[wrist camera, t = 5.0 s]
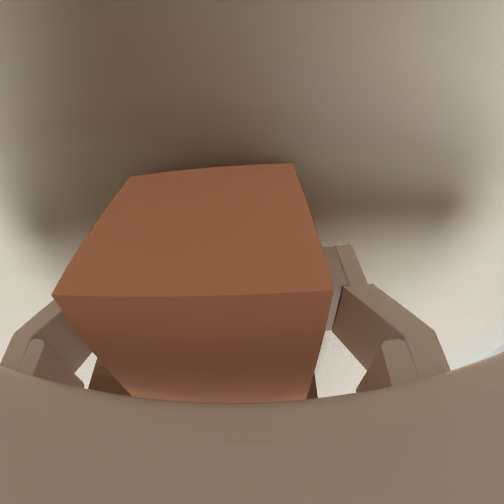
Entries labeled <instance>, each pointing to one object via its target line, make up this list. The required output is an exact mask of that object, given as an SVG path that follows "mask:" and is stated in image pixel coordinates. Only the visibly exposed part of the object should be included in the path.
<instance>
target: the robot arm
mask: <svg viewBox="0 0 504 504" xmlns="http://www.w3.org/2000/svg"><path fill="white" fill-rule="evenodd" d="M322 250H323V253H324V257H325V260H326V263H327V267H328V270H329V273H330V277H331V280H332V284H333V287H334V293H333V298H332V302H331V307H330V311H329V315H328V320H327V324H326V328H325V331H327V330H332V332H333V333H334V334H335V335H336V336H337V337H338V339H339V340H340V341H341V342H342V343H343V344H344V345H345V346H346V347H347V349H348V350H349V351H350V352H351V353H352V354H353V355H354V356H355V358H356V359H357V360H358V361H359V362H360V363H361V364H362V365H363V366H364V368H365V369H366V370H367V372H366V374H365V376H364V377H363V379H362V381H361V382H360V384H359V385H358V387H357V389H356V392H357V393H352V394H346V395H339V396H331V397H323V398H314V399H303V400H292V401H276V402H252V403H212V402H188V401H173V400H161V399H151V398H142V397H134V396H126V395H119V394H113V393H107V392H101V391H95V390H90V389H85V388H84V384H83V382H82V381H81V380H80V379H79V378H78V377H77V376H76V375H75V374H74V373H75V372H76V371H77V369H78V368H79V367H80V366H81V365H82V363H83V362H84V361H85V360H86V359H87V358H88V356H89V355H90V354H91V353H92V350H91V349H90V348H89V347H88V345H87V344H86V343H85V341H84V340H83V339H82V338H81V336H80V335H79V334H78V332H77V331H76V330H75V328H74V327H73V326H72V324H71V323H70V321H69V320H68V319H67V317H66V316H65V314H64V313H63V311H62V310H61V308H60V307H59V306H58V304H57V303H56V301H55V300H53V301H52V302H51V303H49V304H48V305H47V306H46V307H44V308H43V309H42V310H41V311H40V312H38V313H37V314H36V315H35V316H34V317H32V318H31V319H30V320H29V321H28V322H27V323H25V324H24V325H23V326H22V327H21V328H20V329H19V330H17V331H16V332H15V333H14V335H13V337H12V339H11V341H10V343H9V345H8V348H7V350H6V352H5V354H4V357H3V359H2V361H1V364H0V504H504V352H502V353H500V354H497V355H495V356H492V357H489V358H487V359H484V360H481V361H479V362H476V363H473V364H470V365H467V366H464V367H461V368H458V369H455V370H452V371H450V368H449V365H448V363H447V360H446V357H445V355H444V352H443V350H442V347H441V345H440V343H439V340H438V338H437V336H436V333H435V331H434V330H433V329H431V328H430V327H429V326H428V325H426V324H425V323H424V322H423V321H421V320H420V319H419V318H417V317H416V316H415V315H413V314H412V313H411V312H410V311H408V310H407V309H406V308H404V307H403V306H402V305H400V304H399V303H398V302H396V301H395V300H394V299H392V298H391V297H390V296H388V295H387V294H386V293H384V292H383V291H382V290H380V289H379V288H378V287H376V286H375V285H374V284H368V283H367V280H366V278H365V276H364V273H363V271H362V268H361V266H360V264H359V261H358V259H357V257H356V254H355V252H354V250H353V247H352V246H350V245H344V246H334V247H322Z"/></svg>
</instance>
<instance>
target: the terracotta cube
mask: <svg viewBox="0 0 504 504" xmlns="http://www.w3.org/2000/svg"><path fill="white" fill-rule="evenodd" d="M333 293H334V287H333V284H332V280H331V277H330V273H329V270H328V267H327V263H326V260H325V257H324V253H323V250H322V247H321V244H320V240H319V237H318V234H317V231H316V228H315V225H314V222H313V219H312V216H311V213H310V210H309V207H308V204H307V201H306V198H305V195H304V192H303V189H302V186H301V184H300V181H299V178H298V175H297V172H296V170H295V167H294V164H293V163H281V164H255V165H237V166H222V167H209V168H198V169H187V170H178V171H169V172H160V173H152V174H145V175H137V176H130V178H129V179H128V180H127V181H126V183H125V184H124V185H123V186H122V188H121V189H120V190H119V192H118V193H117V194H116V196H115V197H114V198H113V200H112V201H111V202H110V204H109V205H108V206H107V208H106V209H105V210H104V212H103V213H102V215H101V216H100V217H99V219H98V220H97V222H96V223H95V225H94V226H93V228H92V229H91V231H90V232H89V234H88V235H87V237H86V238H85V240H84V241H83V243H82V244H81V246H80V247H79V249H78V250H77V252H76V254H75V255H74V257H73V258H72V260H71V262H70V263H69V265H68V267H67V268H66V270H65V272H64V273H63V275H62V277H61V279H60V280H59V282H58V284H57V286H56V287H55V289H54V291H53V293H52V296H53V298H54V300H55V301H56V303H57V304H58V306H59V307H60V308H61V310H62V311H63V313H64V314H65V316H66V317H67V319H68V320H69V321H70V323H71V324H72V326H73V327H74V328H75V330H76V331H77V332H78V334H79V335H80V336H81V338H82V339H83V340H84V341H85V343H86V344H87V345H88V347H89V348H90V349H91V350H92V352H93V353H94V354H95V355H96V356H97V358H98V359H99V360H100V361H101V362H102V364H103V365H104V366H105V367H106V368H107V369H108V370H109V372H110V373H111V374H112V375H113V376H114V377H115V378H116V379H117V381H118V382H119V383H120V384H121V385H122V386H123V387H124V388H125V389H126V390H127V391H128V392H129V393H130V394H131V395H132V396H134V397H142V398H151V399H161V400H173V401H188V402H212V403H252V402H276V401H292V400H303V399H306V398H307V395H308V391H309V388H310V385H311V381H312V378H313V374H314V371H315V367H316V363H317V360H318V356H319V352H320V348H321V344H322V340H323V336H324V332H325V328H326V324H327V320H328V315H329V311H330V307H331V302H332V298H333Z"/></svg>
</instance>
